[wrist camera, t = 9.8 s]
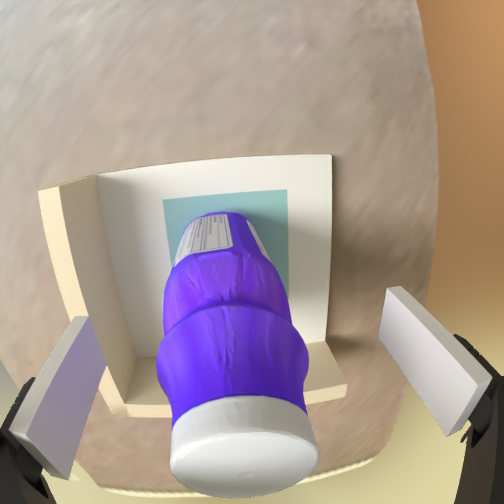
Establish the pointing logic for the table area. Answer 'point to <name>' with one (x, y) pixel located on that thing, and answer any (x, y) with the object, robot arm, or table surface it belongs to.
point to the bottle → (233, 366)
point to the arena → (165, 249)
